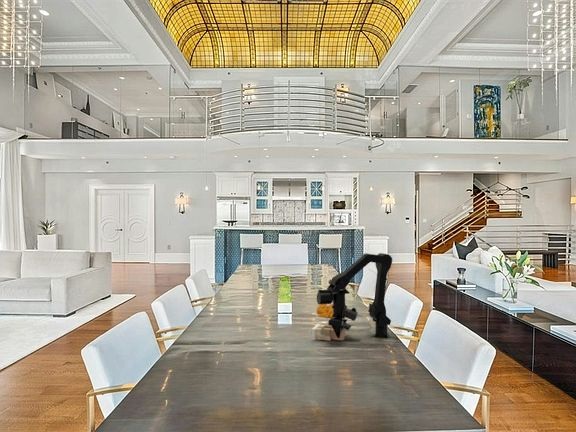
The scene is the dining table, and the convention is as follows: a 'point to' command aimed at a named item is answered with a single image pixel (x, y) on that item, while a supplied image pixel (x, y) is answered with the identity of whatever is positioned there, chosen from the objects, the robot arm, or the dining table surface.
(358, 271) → the robot arm
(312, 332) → the backstop
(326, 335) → the block
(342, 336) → the peg
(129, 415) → the dining table surface
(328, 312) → the decorative ornament
